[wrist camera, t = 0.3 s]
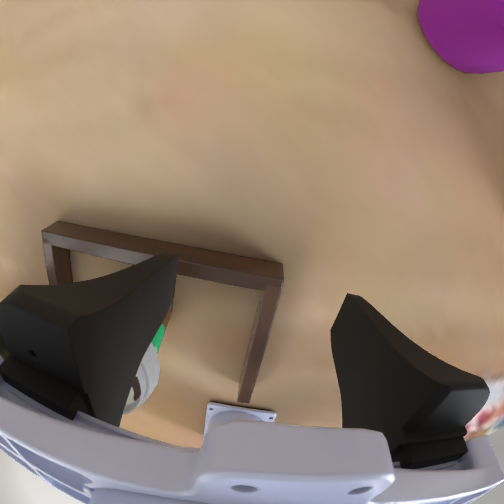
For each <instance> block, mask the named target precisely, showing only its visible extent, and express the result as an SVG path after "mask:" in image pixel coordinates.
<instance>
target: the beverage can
mask: <svg viewBox="0 0 504 504" xmlns="http://www.w3.org/2000/svg"><path fill="white" fill-rule="evenodd" d="M418 17H419V23H420V25H421V28H422V30H423V33H424V35H425V37H426V38H427V40H428V42H429V43H430V45H431V46H432V48H433V49H434V50H435V51H436V52H437V53H438V55H439V56H440V57H441V58H442V59H443V60H444V61H446V62H447V63H448V64H450V65H451V66H452V67H454V68H455V69H458V70H460V71H462V72H465V73H478V74H482V73H490V72H500V71H504V0H420V2H419V6H418Z"/></svg>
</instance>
